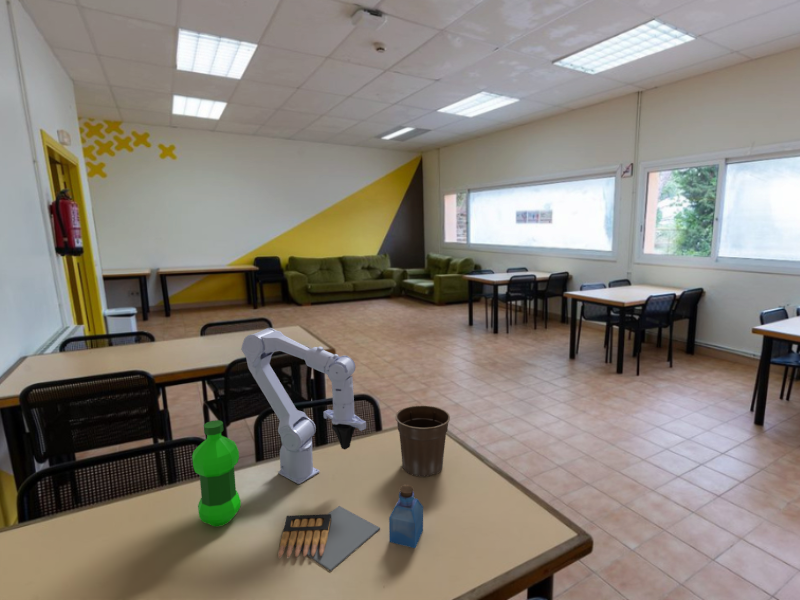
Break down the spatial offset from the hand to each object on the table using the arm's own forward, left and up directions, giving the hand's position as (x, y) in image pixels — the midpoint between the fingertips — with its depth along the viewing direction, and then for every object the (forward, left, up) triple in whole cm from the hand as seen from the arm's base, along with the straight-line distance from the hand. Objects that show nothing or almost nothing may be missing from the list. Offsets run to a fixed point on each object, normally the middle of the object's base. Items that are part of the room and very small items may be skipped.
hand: (345, 447), depth 119 cm
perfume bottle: (+26, -7, -11) cm, 29 cm away
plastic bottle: (-14, -30, -11) cm, 35 cm away
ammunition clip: (+5, -18, -9) cm, 21 cm away
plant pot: (+12, +20, -11) cm, 26 cm away
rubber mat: (+13, -17, -10) cm, 24 cm away
